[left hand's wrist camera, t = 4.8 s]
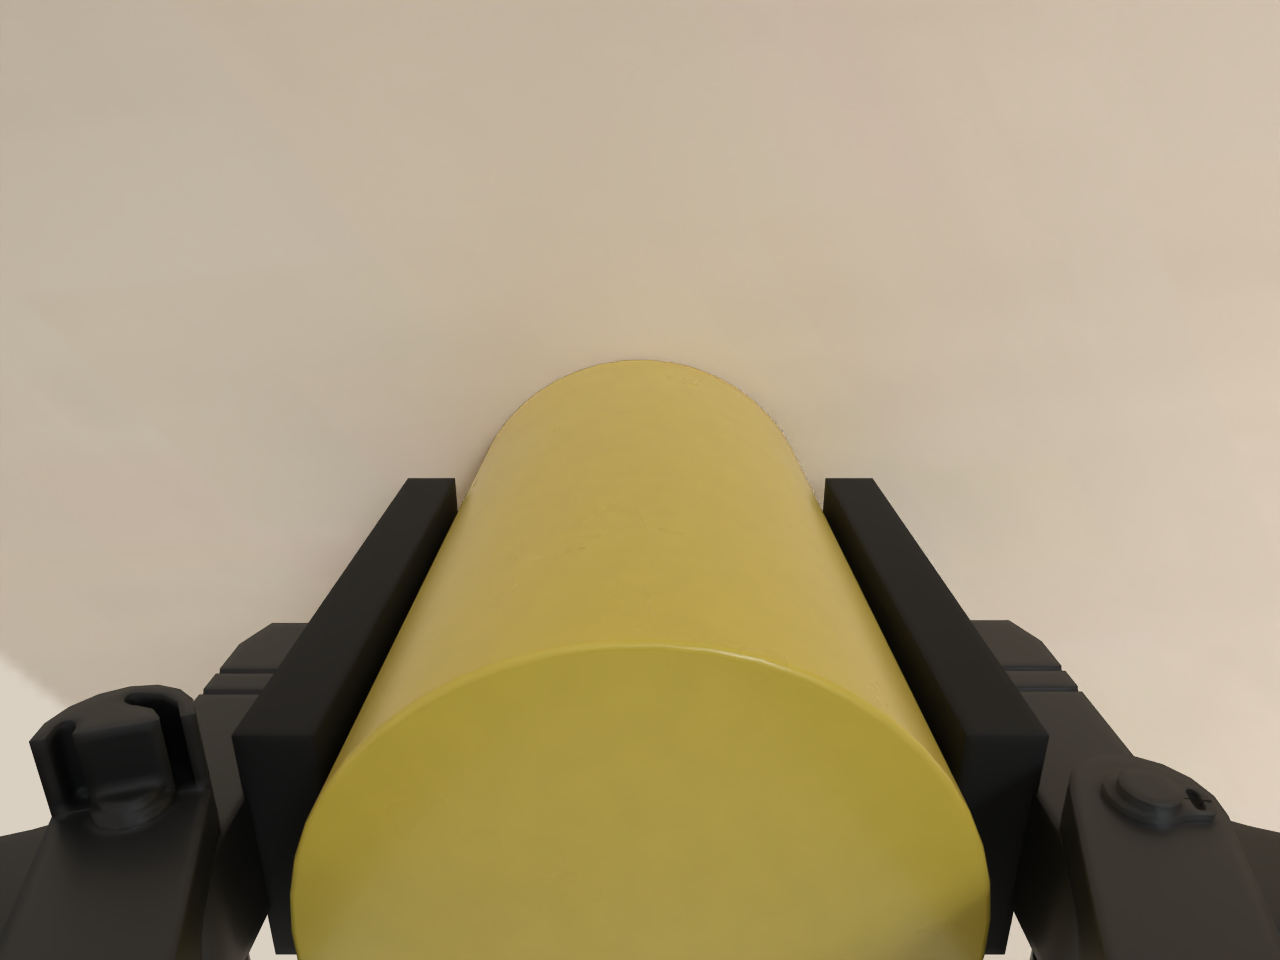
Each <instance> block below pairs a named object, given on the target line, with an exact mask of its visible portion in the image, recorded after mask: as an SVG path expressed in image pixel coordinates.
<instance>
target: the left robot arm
mask: <svg viewBox="0 0 1280 960" xmlns="http://www.w3.org/2000/svg"><path fill="white" fill-rule="evenodd" d="M457 513H458V510H457V498H456V486H455V478H408V479H407V481H406V482H405V484H404V485H403V486H402V488H401V489H400V491H399V492H398V494H397V495H396V497H395V498H394V500H393V501H392V502H391V504H390V505H389V507H388V508H387V510H386V511H385V513H384V514H383V516H382V517H381V518H380V520H379V521H378V523H377V524H376V526H375V527H374V529H373V530H372V532H371V533H370V534H369V536H368V537H367V539H366V540H365V542H364V543H363V545H362V546H361V547H360V549H359V550H358V552H357V553H356V555H355V556H354V558H353V559H352V561H351V562H350V563H349V565H348V566H347V568H346V569H345V571H344V572H343V574H342V575H341V577H340V578H339V579H338V581H337V582H336V584H335V585H334V587H333V588H332V590H331V591H330V593H329V594H328V595H327V597H326V598H325V600H324V601H323V603H322V604H321V606H320V607H319V609H318V610H317V611H316V613H315V614H314V616H313V617H312V619H311V620H310V622H309V623H271V624H270V625H268V626H267V627H265V628H264V629H262V630H261V631H259V632H258V633H256V634H254V635H253V636H251V637H250V638H248V639H247V640H245V641H244V642H242V643H241V644H239V645H238V647H237V648H236V649H235V650H234V652H233V653H232V654H231V655H230V657H229V658H228V659H227V660H226V662H225V663H224V664H223V666H222V667H221V668H220V673H219V674H215V676H214V677H213V678H212V679H211V681H210V682H209V683H208V684H207V686H206V687H205V688H204V692H203V695H199V696H198V697H197V698H196V699H195V701H193V699H192V698H191V697H190V696H188V695H187V694H186V693H185V692H183V691H182V690H181V689H177V688H172V687H167V686H162V685H147V686H130V687H126V688H122V689H118V690H114V691H110V692H106V693H102V694H98V695H96V696H93V697H91V698H89V699H86V700H84V701H82V702H79V703H77V704H75V705H72V706H70V707H68V708H67V709H65V710H64V711H62V712H61V713H59V714H58V715H56V716H55V717H53V718H52V719H50V720H49V721H47V722H46V723H44V725H43V726H42V727H41V728H40V729H39V730H38V732H37V733H36V734H35V735H34V736H33V738H32V739H31V740H30V741H29V743H30V747H31V750H32V753H33V757H34V760H35V763H36V766H37V770H38V773H39V776H40V779H41V783H42V786H43V789H44V792H45V796H46V799H47V802H48V805H49V809H50V812H51V815H52V818H51V820H50V822H49V825H47V826H44V827H40V828H37V829H33V830H28V831H24V832H19V833H15V834H10V835H5V836H1V837H0V960H250V956H249V952H250V949H251V947H252V945H253V943H254V941H255V939H256V937H257V935H258V933H259V931H260V929H261V927H262V925H263V922H264V920H265V918H266V916H267V914H268V918H269V923H270V928H271V933H272V938H273V943H274V948H275V953H276V954H296V950H295V945H294V941H293V936H292V930H291V909H290V887H291V879H292V872H293V864H294V857H295V854H296V851H297V848H298V844H299V841H300V838H301V835H302V832H303V829H304V825H305V822H306V820H307V818H308V816H309V814H310V812H311V810H312V808H313V806H314V804H315V802H316V800H317V798H318V796H319V794H320V792H321V790H322V788H323V786H324V784H325V782H326V780H327V778H328V776H329V774H330V771H331V769H332V767H333V765H334V763H335V761H336V759H337V757H338V755H339V753H340V751H341V749H342V747H343V745H344V743H345V741H346V739H347V737H348V735H349V733H350V731H351V729H352V727H353V725H354V723H355V721H356V719H357V717H358V715H359V712H360V710H361V708H362V706H363V704H364V702H365V700H366V698H367V696H368V694H369V692H370V690H371V688H372V686H373V684H374V682H375V680H376V678H377V676H378V674H379V672H380V670H381V668H382V666H383V664H384V662H385V660H386V658H387V655H388V653H389V651H390V649H391V647H392V645H393V643H394V641H395V639H396V637H397V635H398V633H399V631H400V629H401V627H402V625H403V623H404V621H405V619H406V617H407V615H408V613H409V611H410V609H411V607H412V605H413V603H414V601H415V599H416V596H417V594H418V592H419V590H420V588H421V586H422V584H423V582H424V580H425V578H426V576H427V574H428V572H429V570H430V568H431V566H432V564H433V562H434V560H435V558H436V556H437V554H438V552H439V550H440V548H441V546H442V544H443V542H444V539H445V537H446V535H447V533H448V531H449V529H450V527H451V525H452V523H453V521H454V519H455V517H456V515H457ZM823 514H824V516H825V518H826V520H827V522H828V524H829V526H830V528H831V530H832V532H833V534H834V536H835V538H836V540H837V542H838V544H839V546H840V548H841V550H842V552H843V554H844V556H845V558H846V560H847V562H848V564H849V566H850V568H851V571H852V573H853V575H854V577H855V579H856V581H857V583H858V585H859V587H860V589H861V591H862V593H863V595H864V597H865V599H866V601H867V603H868V605H869V607H870V609H871V611H872V613H873V615H874V617H875V619H876V621H877V623H878V625H879V627H880V629H881V631H882V633H883V635H884V637H885V639H886V642H887V644H888V646H889V648H890V650H891V652H892V654H893V656H894V658H895V660H896V662H897V664H898V666H899V668H900V670H901V672H902V674H903V676H904V678H905V680H906V682H907V684H908V686H909V688H910V690H911V692H912V694H913V696H914V698H915V700H916V702H917V704H918V706H919V708H920V710H921V712H922V715H923V717H924V719H925V721H926V723H927V725H928V727H929V729H930V731H931V733H932V735H933V737H934V739H935V741H936V743H937V745H938V747H939V749H940V751H941V753H942V755H943V757H944V759H945V761H946V763H947V765H948V767H949V769H950V771H951V773H952V775H953V777H954V779H955V781H956V783H957V786H958V788H959V790H960V792H961V794H962V796H963V798H964V800H965V802H966V804H967V806H968V808H969V810H970V812H971V815H972V817H973V820H974V823H975V825H976V828H977V830H978V833H979V836H980V838H981V841H982V844H983V847H984V852H985V857H986V862H987V868H988V873H989V878H990V925H989V931H988V937H987V943H986V950H985V954H1005V951H1006V946H1007V941H1008V936H1009V931H1010V926H1011V921H1012V916H1013V912H1014V913H1015V915H1016V917H1017V919H1018V921H1019V923H1020V925H1021V927H1022V929H1023V931H1024V933H1025V936H1026V938H1027V940H1028V942H1029V944H1030V946H1031V948H1032V952H1031V956H1030V960H1280V833H1279V832H1274V831H1269V830H1265V829H1260V828H1256V827H1251V826H1247V825H1243V824H1240V823H1236V822H1233V821H1230V818H1229V816H1228V815H1227V813H1226V812H1225V810H1224V809H1223V808H1222V806H1221V805H1220V804H1219V802H1218V801H1217V799H1216V798H1215V797H1214V796H1213V795H1212V794H1211V793H1210V792H1208V791H1207V790H1206V789H1204V788H1203V787H1202V786H1200V785H1199V784H1198V783H1197V782H1195V781H1194V780H1193V779H1191V778H1190V777H1188V776H1186V775H1184V774H1181V773H1179V772H1177V771H1175V770H1173V769H1171V768H1169V767H1167V766H1165V765H1163V764H1160V763H1156V762H1153V761H1149V760H1146V759H1142V758H1138V757H1135V756H1133V755H1132V753H1131V752H1130V751H1129V750H1128V748H1127V747H1126V746H1125V745H1124V743H1123V742H1122V741H1121V740H1120V738H1119V737H1118V736H1117V735H1116V733H1115V732H1114V731H1113V730H1112V728H1111V727H1110V726H1109V725H1108V723H1107V722H1106V721H1105V720H1104V718H1103V717H1102V716H1101V715H1100V713H1099V712H1098V711H1097V710H1096V708H1095V707H1094V706H1093V705H1092V703H1091V702H1090V701H1089V700H1088V698H1087V697H1086V696H1085V695H1084V694H1083V692H1078V686H1077V685H1076V684H1075V682H1074V681H1073V680H1072V679H1071V677H1070V676H1069V675H1068V674H1067V672H1066V671H1062V669H1061V665H1060V664H1059V662H1058V661H1057V660H1056V659H1055V657H1054V656H1053V655H1052V654H1051V652H1050V651H1049V650H1048V649H1047V647H1046V646H1045V645H1044V644H1043V642H1042V641H1040V640H1039V639H1037V638H1036V637H1034V636H1033V635H1031V634H1029V633H1028V632H1026V631H1025V630H1023V629H1022V628H1020V627H1019V626H1017V625H1015V624H1014V623H1012V622H1011V621H1009V620H970V619H969V618H968V616H967V615H966V613H965V612H964V611H963V609H962V608H961V606H960V605H959V603H958V602H957V600H956V599H955V597H954V596H953V595H952V593H951V592H950V590H949V589H948V587H947V586H946V584H945V583H944V582H943V580H942V579H941V577H940V576H939V574H938V573H937V571H936V570H935V568H934V567H933V566H932V564H931V563H930V561H929V560H928V558H927V557H926V555H925V554H924V552H923V551H922V550H921V548H920V547H919V545H918V544H917V542H916V541H915V539H914V538H913V536H912V535H911V534H910V532H909V531H908V529H907V528H906V526H905V525H904V523H903V522H902V521H901V519H900V518H899V516H898V515H897V513H896V512H895V510H894V509H893V507H892V506H891V505H890V503H889V502H888V500H887V499H886V497H885V496H884V494H883V493H882V491H881V490H880V489H879V487H878V486H877V484H876V483H875V481H874V480H873V478H826V480H825V492H824V505H823Z"/></svg>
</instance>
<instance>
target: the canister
mask: <svg viewBox="0 0 1280 960" xmlns="http://www.w3.org/2000/svg"><path fill="white" fill-rule="evenodd" d="M290 909H291V930H292V936H293V941H294V945H295V950H296V954H297V959H298V960H983V958H984V955H985V950H986V943H987V937H988V931H989V925H990V878H989V873H988V868H987V862H986V857H985V852H984V847H983V844H982V841H981V838H980V836H979V833H978V830H977V828H976V825H975V823H974V820H973V817H972V815H971V812H970V810H969V808H968V806H967V804H966V802H965V800H964V798H963V796H962V794H961V792H960V790H959V788H958V786H957V783H956V781H955V779H954V777H953V775H952V773H951V771H950V769H949V767H948V765H947V763H946V761H945V759H944V757H943V755H942V753H941V751H940V749H939V747H938V745H937V743H936V741H935V739H934V737H933V735H932V733H931V731H930V729H929V727H928V725H927V723H926V721H925V719H924V717H923V715H922V712H921V710H920V708H919V706H918V704H917V702H916V700H915V698H914V696H913V694H912V692H911V690H910V688H909V686H908V684H907V682H906V680H905V678H904V676H903V674H902V672H901V670H900V668H899V666H898V664H897V662H896V660H895V658H894V656H893V654H892V652H891V650H890V648H889V646H888V644H887V642H886V639H885V637H884V635H883V633H882V631H881V629H880V627H879V625H878V623H877V621H876V619H875V617H874V615H873V613H872V611H871V609H870V607H869V605H868V603H867V601H866V599H865V597H864V595H863V593H862V591H861V589H860V587H859V585H858V583H857V581H856V579H855V577H854V575H853V573H852V571H851V568H850V566H849V564H848V562H847V560H846V558H845V556H844V554H843V552H842V550H841V548H840V546H839V544H838V542H837V540H836V538H835V536H834V534H833V532H832V530H831V528H830V526H829V524H828V522H827V520H826V518H825V516H824V514H823V512H822V510H821V508H820V506H819V504H818V502H817V500H816V497H815V495H814V493H813V491H812V489H811V487H810V485H809V483H808V481H807V479H806V477H805V475H804V473H803V471H802V469H801V467H800V465H799V463H798V461H797V459H796V457H795V455H794V453H793V451H792V449H791V447H790V446H789V444H788V442H787V440H786V439H785V437H784V435H783V433H782V432H781V431H780V429H779V428H778V427H777V425H776V424H775V423H774V422H773V420H772V419H771V418H770V416H769V415H768V414H767V413H766V412H765V411H764V410H763V409H762V408H761V407H759V406H758V405H757V404H756V403H755V402H754V401H753V400H752V399H751V398H749V397H748V396H747V395H745V394H744V393H742V392H741V391H740V390H738V389H737V388H736V387H734V386H732V385H730V384H729V383H727V382H725V381H723V380H721V379H719V378H718V377H716V376H713V375H711V374H708V373H706V372H703V371H700V370H698V369H695V368H692V367H688V366H684V365H679V364H675V363H671V362H662V361H653V360H625V361H618V362H611V363H605V364H600V365H596V366H593V367H589V368H586V369H582V370H579V371H577V372H574V373H572V374H570V375H568V376H565V377H563V378H561V379H558V380H557V381H555V382H553V383H552V384H550V385H548V386H547V387H545V388H544V389H542V390H540V391H539V392H537V393H536V394H535V395H534V396H532V397H531V398H530V399H529V400H528V401H526V402H525V403H524V404H523V405H521V407H520V408H519V409H518V410H517V411H516V412H515V413H514V414H513V415H512V416H511V417H510V418H509V419H508V420H507V422H506V423H505V424H504V426H503V427H502V429H501V430H500V431H499V433H498V434H497V436H496V437H495V439H494V441H493V442H492V444H491V446H490V448H489V450H488V452H487V454H486V456H485V458H484V460H483V462H482V464H481V466H480V468H479V470H478V472H477V474H476V476H475V478H474V480H473V483H472V485H471V487H470V489H469V491H468V493H467V495H466V497H465V499H464V501H463V503H462V505H461V507H460V509H459V511H458V513H457V515H456V517H455V519H454V521H453V523H452V525H451V527H450V529H449V531H448V533H447V535H446V537H445V539H444V542H443V544H442V546H441V548H440V550H439V552H438V554H437V556H436V558H435V560H434V562H433V564H432V566H431V568H430V570H429V572H428V574H427V576H426V578H425V580H424V582H423V584H422V586H421V588H420V590H419V592H418V594H417V596H416V599H415V601H414V603H413V605H412V607H411V609H410V611H409V613H408V615H407V617H406V619H405V621H404V623H403V625H402V627H401V629H400V631H399V633H398V635H397V637H396V639H395V641H394V643H393V645H392V647H391V649H390V651H389V653H388V655H387V658H386V660H385V662H384V664H383V666H382V668H381V670H380V672H379V674H378V676H377V678H376V680H375V682H374V684H373V686H372V688H371V690H370V692H369V694H368V696H367V698H366V700H365V702H364V704H363V706H362V708H361V710H360V712H359V715H358V717H357V719H356V721H355V723H354V725H353V727H352V729H351V731H350V733H349V735H348V737H347V739H346V741H345V743H344V745H343V747H342V749H341V751H340V753H339V755H338V757H337V759H336V761H335V763H334V765H333V767H332V769H331V771H330V774H329V776H328V778H327V780H326V782H325V784H324V786H323V788H322V790H321V792H320V794H319V796H318V798H317V800H316V802H315V804H314V806H313V808H312V810H311V812H310V814H309V816H308V818H307V820H306V822H305V825H304V829H303V832H302V835H301V838H300V841H299V844H298V848H297V851H296V854H295V857H294V864H293V872H292V879H291V887H290Z"/></svg>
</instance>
